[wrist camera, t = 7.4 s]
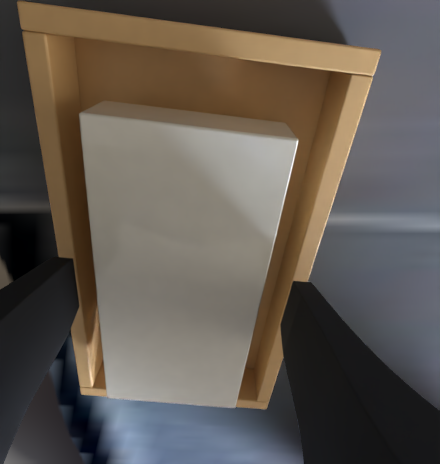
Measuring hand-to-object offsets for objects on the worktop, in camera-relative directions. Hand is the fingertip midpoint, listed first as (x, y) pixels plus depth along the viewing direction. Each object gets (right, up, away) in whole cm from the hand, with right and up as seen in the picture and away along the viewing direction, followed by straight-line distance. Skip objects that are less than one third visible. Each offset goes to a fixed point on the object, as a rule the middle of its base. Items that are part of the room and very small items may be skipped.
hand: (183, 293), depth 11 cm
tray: (0, +2, +3) cm, 3 cm away
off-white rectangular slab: (0, +1, +2) cm, 3 cm away
